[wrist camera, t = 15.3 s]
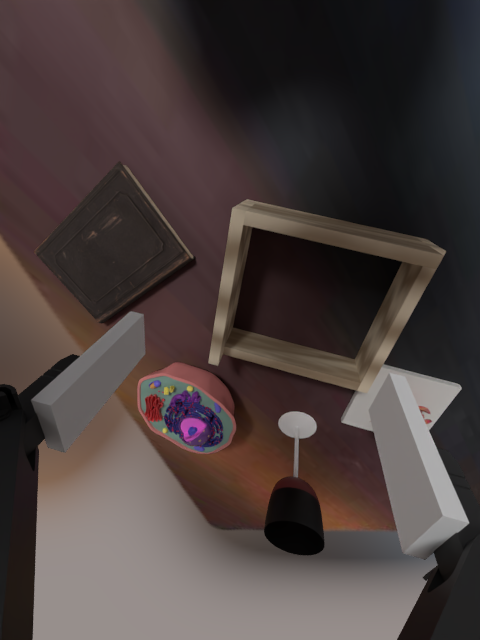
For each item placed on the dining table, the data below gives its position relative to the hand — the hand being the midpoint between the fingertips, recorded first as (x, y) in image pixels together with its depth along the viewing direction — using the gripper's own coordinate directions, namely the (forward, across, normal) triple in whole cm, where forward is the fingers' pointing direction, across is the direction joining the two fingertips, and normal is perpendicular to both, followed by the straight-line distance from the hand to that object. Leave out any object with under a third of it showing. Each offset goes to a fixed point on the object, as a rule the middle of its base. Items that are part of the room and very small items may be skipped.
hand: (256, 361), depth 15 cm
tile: (+28, +25, -24) cm, 45 cm away
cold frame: (+29, +5, -8) cm, 30 cm away
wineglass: (+28, +10, -36) cm, 47 cm away
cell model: (+28, -10, -32) cm, 44 cm away
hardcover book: (+30, -27, -8) cm, 41 cm away
